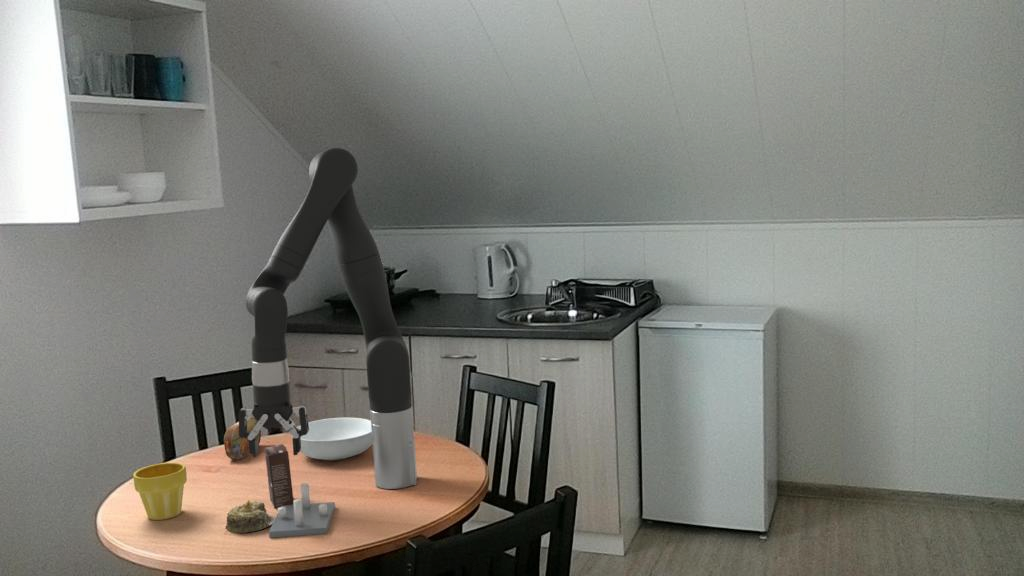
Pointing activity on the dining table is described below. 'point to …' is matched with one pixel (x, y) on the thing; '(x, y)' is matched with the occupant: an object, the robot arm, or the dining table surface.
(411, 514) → the dining table surface
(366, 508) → the dining table surface
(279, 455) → the box
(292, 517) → the pin tray
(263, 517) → the sea snail shell
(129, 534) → the dining table surface
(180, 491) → the plant pot
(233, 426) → the tin
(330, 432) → the serving bowl
